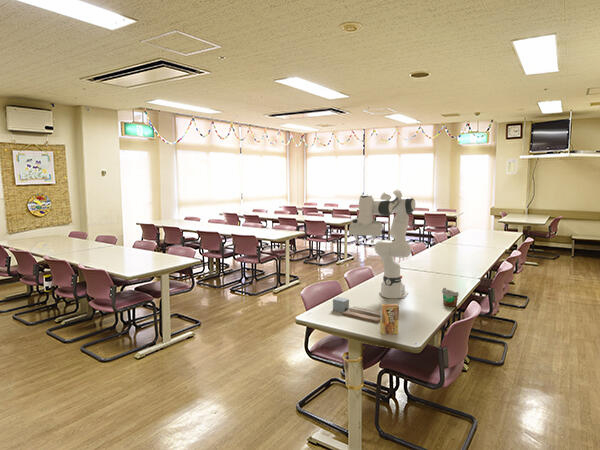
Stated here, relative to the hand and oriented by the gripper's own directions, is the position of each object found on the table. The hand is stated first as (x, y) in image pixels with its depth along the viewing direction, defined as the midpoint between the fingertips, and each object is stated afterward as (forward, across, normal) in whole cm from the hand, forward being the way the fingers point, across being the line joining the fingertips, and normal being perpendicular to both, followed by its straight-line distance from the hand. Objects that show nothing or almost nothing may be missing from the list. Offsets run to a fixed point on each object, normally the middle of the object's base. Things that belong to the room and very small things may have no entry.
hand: (364, 242), depth 245 cm
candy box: (+43, -20, +37) cm, 60 cm away
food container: (+42, -51, -23) cm, 70 cm away
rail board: (+42, -4, +14) cm, 45 cm away
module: (+42, +12, +9) cm, 45 cm away
